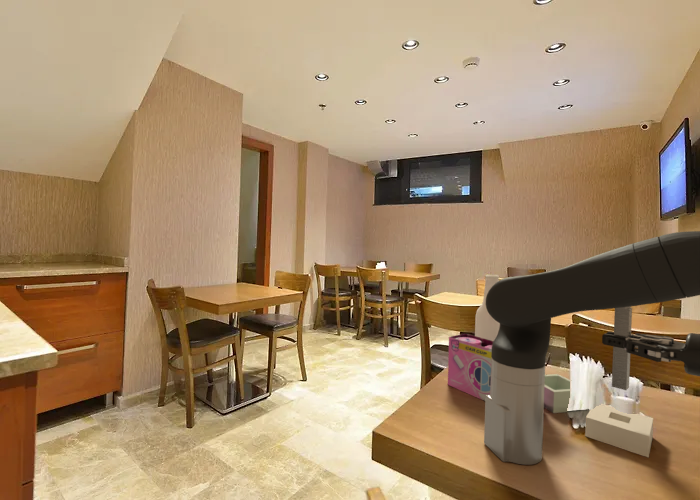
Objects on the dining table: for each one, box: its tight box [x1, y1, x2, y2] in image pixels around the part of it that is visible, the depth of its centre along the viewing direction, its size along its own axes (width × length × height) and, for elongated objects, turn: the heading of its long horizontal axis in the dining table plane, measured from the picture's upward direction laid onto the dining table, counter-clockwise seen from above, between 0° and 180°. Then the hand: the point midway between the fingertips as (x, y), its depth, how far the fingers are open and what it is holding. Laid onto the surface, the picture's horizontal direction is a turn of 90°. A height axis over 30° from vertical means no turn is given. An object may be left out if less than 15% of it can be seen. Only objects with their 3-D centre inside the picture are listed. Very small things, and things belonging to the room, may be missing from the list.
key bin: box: [544, 373, 571, 414], centre depth 88 cm, size 10×10×5 cm
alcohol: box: [474, 274, 500, 341], centre depth 107 cm, size 9×9×30 cm
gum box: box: [447, 333, 494, 402], centre depth 90 cm, size 24×8×14 cm, turn 35°
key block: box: [584, 403, 654, 459], centre depth 73 cm, size 10×10×4 cm
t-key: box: [611, 306, 633, 391], centre depth 72 cm, size 6×2×18 cm, turn 131°
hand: (605, 337), depth 74 cm, fingers closed on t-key, 2 cm apart
